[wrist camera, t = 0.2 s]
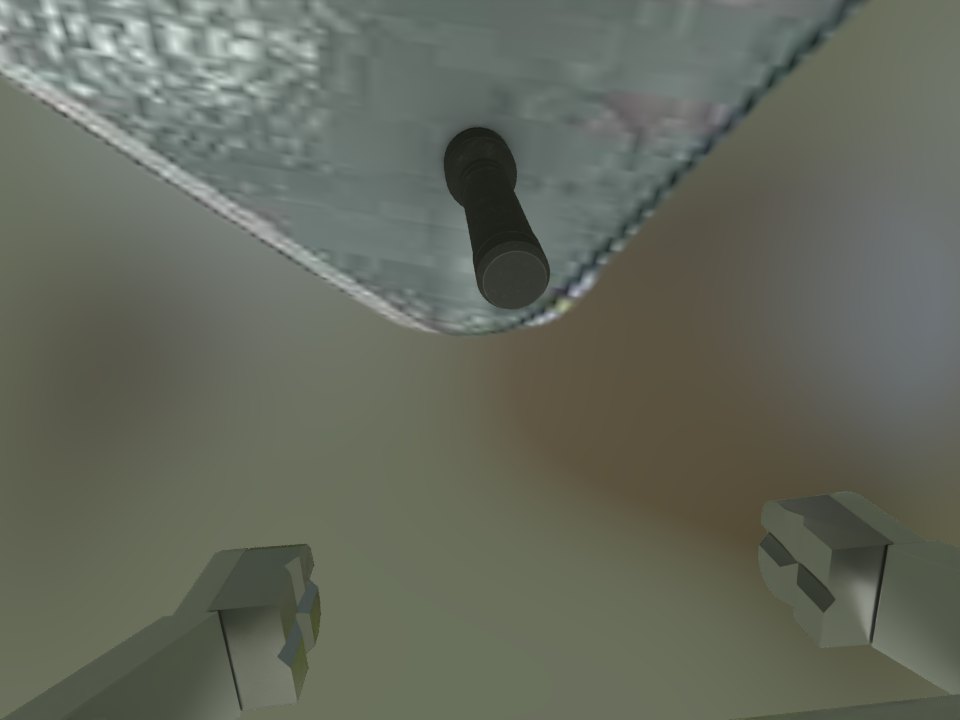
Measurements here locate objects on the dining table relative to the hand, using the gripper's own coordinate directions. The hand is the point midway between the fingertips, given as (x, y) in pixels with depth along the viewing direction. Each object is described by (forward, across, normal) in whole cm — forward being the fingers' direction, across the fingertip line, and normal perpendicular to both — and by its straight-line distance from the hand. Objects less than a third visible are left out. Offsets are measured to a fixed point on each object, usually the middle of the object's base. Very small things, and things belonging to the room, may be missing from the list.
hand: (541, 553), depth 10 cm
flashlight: (+51, -3, -11) cm, 52 cm away
